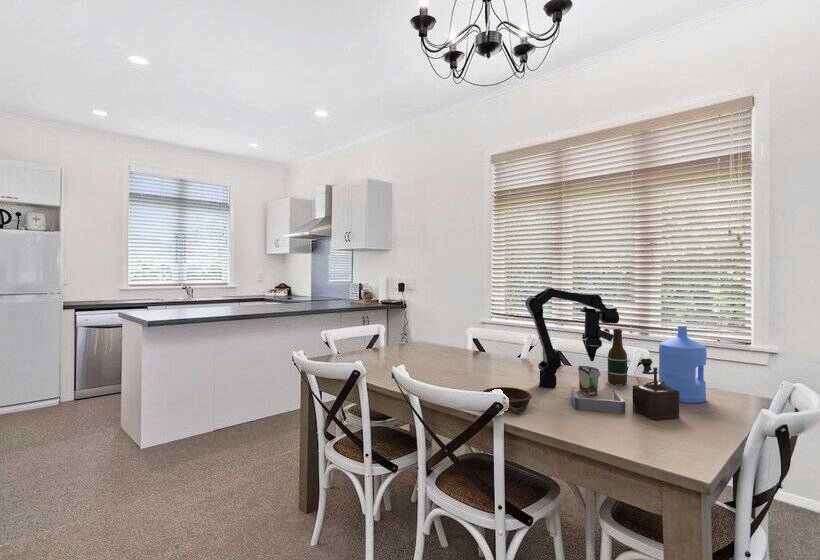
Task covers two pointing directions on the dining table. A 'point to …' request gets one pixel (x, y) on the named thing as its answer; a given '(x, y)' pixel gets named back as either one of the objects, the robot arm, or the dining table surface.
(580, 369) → the food container
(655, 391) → the manual coffee grinder
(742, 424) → the dining table surface
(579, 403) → the box
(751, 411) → the dining table surface
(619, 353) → the beer bottle
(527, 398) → the dish
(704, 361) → the water jug
